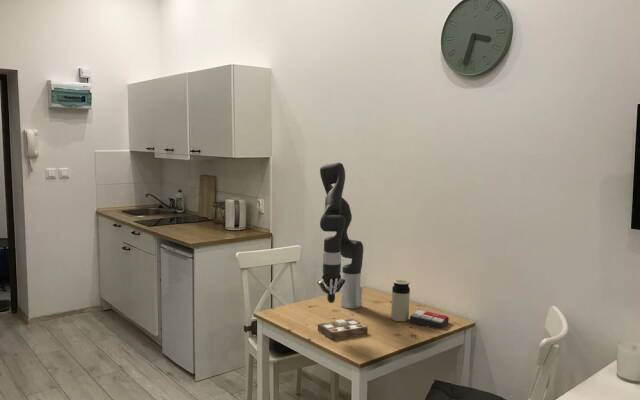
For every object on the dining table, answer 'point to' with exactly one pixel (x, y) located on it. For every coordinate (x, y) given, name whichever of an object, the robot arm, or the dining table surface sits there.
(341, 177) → the robot arm
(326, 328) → the key
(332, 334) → the button board
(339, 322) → the key middle
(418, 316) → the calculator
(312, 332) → the dining table surface
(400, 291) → the travel mug
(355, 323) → the key
